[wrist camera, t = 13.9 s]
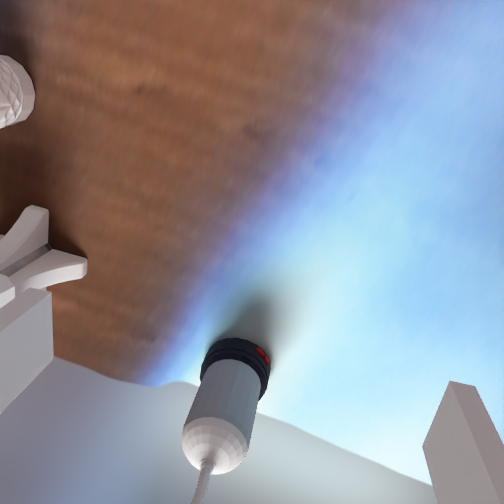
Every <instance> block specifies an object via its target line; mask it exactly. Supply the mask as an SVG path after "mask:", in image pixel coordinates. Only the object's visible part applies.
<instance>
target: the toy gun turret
mask: <svg viewBox="0 0 504 504" xmlns="http://www.w3.org/2000/svg"><path fill="white" fill-rule="evenodd" d="M48 225H49V211H48V210H47V209H45V208H42V207H38V206H34V205H31V206H28V207H27V208H25V209H24V211H23V212H22V214H21V215H20V217H19V219H18V220H17V221H16V223H15V224H14V225H13V227H12V228H11V229H10V230H9V232H8V233H7V234H6V235H5V236H4V235H1V234H0V308H1V307H3V306H4V305H6V304H7V303H9V302H10V301H11V300H13V299H14V298H16V297H17V296H18V295H20V294H21V293H23V292H24V291H25V290H27V289H28V288H30V287H31V288H35V289H40V290H44V291H46V287H47V286H50V285H53V284H56V283H60V282H65V281H69V280H75V279H81V278H82V277H84V276H85V275H86V274H87V262H88V260H87V259H86V258H84V257H80V256H76V255H73V254H69V253H66V252H62V251H58V250H55V249H52V247H51V246H50V245H49V244H48Z"/></svg>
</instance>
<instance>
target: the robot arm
mask: <svg viewBox="0 0 504 504" xmlns="http://www.w3.org/2000/svg"><path fill="white" fill-rule="evenodd" d="M52 360H53V329H52V298H51V292H49V291H44V290H40V289H35V288H31V287H30V288H28V289H27V290H25V291H24V292H23V293H21V294H20V295H18V296H17V297H16V298H14V299H13V300H11V301H10V302H9V303H7V304H6V305H4V306H3V307H1V308H0V414H1V413H2V412H3V411H4V410H5V409H6V408H7V407H8V406H9V405H10V403H11V402H12V401H13V400H14V399H15V398H16V397H17V396H18V395H19V394H20V393H21V392H22V391H23V390H24V389H25V388H26V387H27V386H28V385H29V384H30V383H31V382H32V381H33V380H34V379H35V378H36V377H37V376H38V374H39V373H40V372H41V371H42V370H43V369H44V368H45V367H46V366H47V365H48V364H49V363H50V362H51V361H52ZM422 447H423V451H424V454H425V458H426V462H427V466H428V469H429V473H430V477H431V481H432V485H433V488H434V492H435V496H436V500H437V503H438V504H504V445H503V443H502V441H501V439H500V437H499V434H498V432H497V430H496V428H495V426H494V424H493V422H492V420H491V418H490V416H489V414H488V412H487V410H486V408H485V406H484V404H483V402H482V400H481V398H480V396H479V393H478V391H477V389H476V387H475V386H471V385H467V384H462V383H458V382H453V381H449V384H448V386H447V389H446V391H445V393H444V396H443V398H442V400H441V403H440V405H439V408H438V410H437V412H436V415H435V417H434V420H433V422H432V424H431V427H430V429H429V431H428V434H427V436H426V439H425V441H424V443H423V446H422Z"/></svg>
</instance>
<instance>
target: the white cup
mask: <svg viewBox="0 0 504 504" xmlns="http://www.w3.org/2000/svg"><path fill="white" fill-rule="evenodd" d="M34 101H35V91H34V87H33V83H32V80H31V78H30V76H29V75H28V73H27V72H26V71H25V69H24V68H23V66H22V65H21V64H19V63H18V62H16V61H15V60H13V59H12V58H10V57H9V56H5V55H0V128H4V127H5V126H9V125H14V124H16V123H19V122H21V121H24V120H26V119H27V117H28V116H29V115H30V113H31V112H32V110H33V109H34Z"/></svg>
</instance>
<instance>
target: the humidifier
mask: <svg viewBox="0 0 504 504" xmlns="http://www.w3.org/2000/svg"><path fill="white" fill-rule="evenodd" d="M269 374H270V361H269V359H268V357H267V356H266V355H265V353H264V352H263V351H262V350H261V349H260V348H259V347H258V346H257V345H255V344H253V343H252V342H250V341H248V340H244V339H239V338H226V339H224V340H221V341H218V342H216V343H215V344H214V345H213V346H212V347H210V349H209V351H208V352H207V354H206V356H205V359H204V361H203V363H202V366H201V373H200V380H201V384H200V387H199V389H198V392H197V394H196V397H195V399H194V402H193V404H192V407H191V409H190V412H189V414H188V417H187V419H186V422H185V424H184V428H183V432H182V438H181V442H182V447H183V451H184V454H185V455H186V457H187V459H188V460H189V461H190V463H191V464H192V465H193V466H194V467H196V468H197V469H198V470H200V477H199V481H198V485H197V488H196V492H195V495H194V498H193V500H192V503H191V504H203V501H204V498H205V494H206V491H207V487H208V483H209V479H210V475H211V474H223V473H226V472H229V471H231V470H233V469H234V468H236V467H237V466H238V465H239V464H240V463H241V462H242V461H243V459H244V458H245V457H246V454H247V451H248V448H249V443H250V438H251V433H252V428H253V423H254V419H255V414H256V409H257V404H258V401H259V400H260V399H261V398H262V396H263V395H264V393H265V391H266V389H267V384H268V379H269Z"/></svg>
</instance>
